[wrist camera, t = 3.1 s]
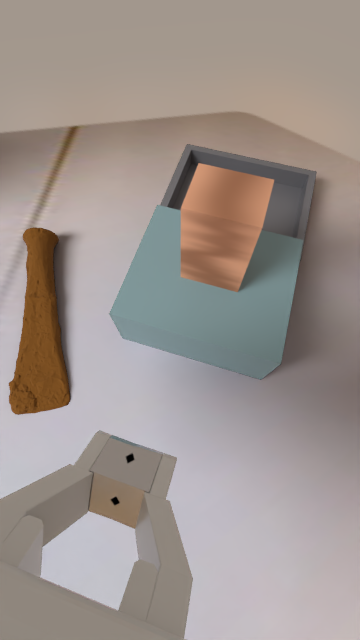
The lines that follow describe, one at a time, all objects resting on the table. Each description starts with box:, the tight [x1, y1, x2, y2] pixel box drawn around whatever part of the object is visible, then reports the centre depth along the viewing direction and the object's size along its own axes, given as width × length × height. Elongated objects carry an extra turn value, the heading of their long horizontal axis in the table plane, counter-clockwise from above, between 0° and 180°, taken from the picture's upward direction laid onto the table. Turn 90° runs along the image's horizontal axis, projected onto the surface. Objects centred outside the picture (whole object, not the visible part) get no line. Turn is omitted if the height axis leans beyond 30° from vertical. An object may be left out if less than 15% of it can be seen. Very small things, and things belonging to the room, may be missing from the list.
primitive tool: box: [9, 228, 70, 415], centre depth 29 cm, size 19×6×4 cm, turn 11°
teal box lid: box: [109, 205, 303, 380], centre depth 28 cm, size 14×12×6 cm
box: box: [160, 144, 317, 261], centre depth 34 cm, size 16×13×2 cm
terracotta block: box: [181, 163, 274, 292], centre depth 22 cm, size 5×4×8 cm
